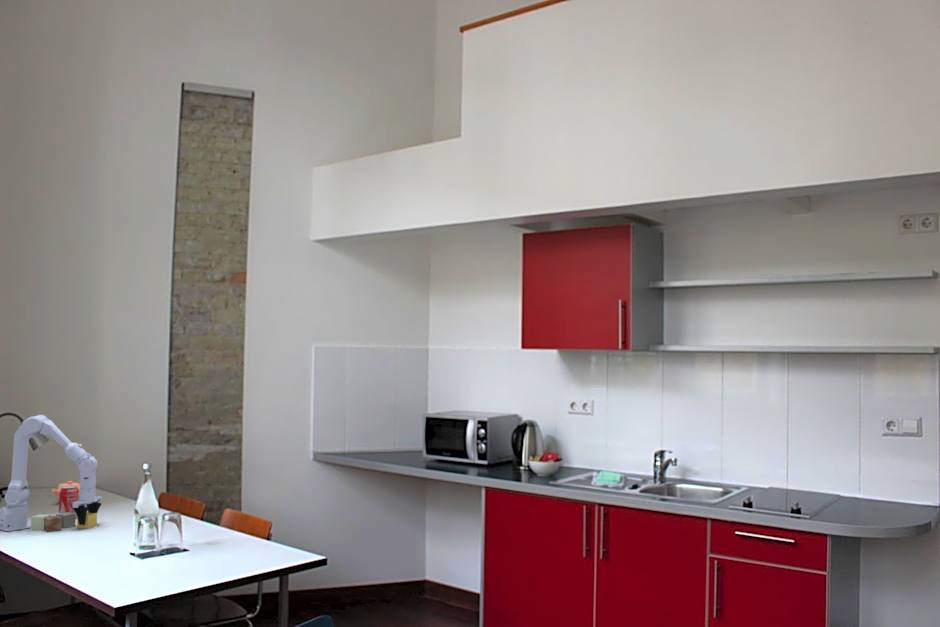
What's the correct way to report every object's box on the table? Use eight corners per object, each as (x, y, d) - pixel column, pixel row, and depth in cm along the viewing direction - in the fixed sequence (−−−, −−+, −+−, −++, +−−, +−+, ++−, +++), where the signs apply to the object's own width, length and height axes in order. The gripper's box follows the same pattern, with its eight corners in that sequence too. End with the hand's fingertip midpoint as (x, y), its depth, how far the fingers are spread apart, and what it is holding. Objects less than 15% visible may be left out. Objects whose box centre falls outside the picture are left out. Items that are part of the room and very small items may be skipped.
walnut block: (47, 532, 333) (47, 519, 333) (44, 530, 337) (44, 517, 337) (61, 531, 336) (61, 517, 336) (58, 528, 340) (59, 515, 340)
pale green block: (43, 530, 337) (44, 517, 337) (31, 530, 337) (31, 517, 337) (50, 527, 342) (50, 514, 342) (37, 527, 342) (38, 514, 342)
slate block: (63, 528, 340) (64, 515, 340) (55, 527, 343) (55, 514, 343) (75, 526, 345) (75, 513, 345) (67, 524, 347) (67, 512, 347)
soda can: (81, 516, 362) (81, 485, 363) (71, 520, 355) (72, 488, 356) (64, 516, 363) (65, 484, 363) (55, 519, 356) (55, 487, 356)
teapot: (51, 505, 386) (51, 483, 387) (60, 500, 398) (60, 479, 399) (78, 505, 388) (79, 483, 388) (87, 500, 400) (87, 478, 400)
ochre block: (88, 528, 340) (88, 515, 341) (77, 527, 342) (77, 514, 342) (96, 525, 345) (96, 513, 345) (85, 525, 347) (86, 512, 347)
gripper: (83, 491, 336) (83, 527, 335) (108, 485, 350) (108, 520, 349) (68, 490, 338) (67, 526, 337) (93, 484, 352) (92, 519, 351)
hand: (87, 523), depth 344 cm, fingers closed on ochre block, 5 cm apart
